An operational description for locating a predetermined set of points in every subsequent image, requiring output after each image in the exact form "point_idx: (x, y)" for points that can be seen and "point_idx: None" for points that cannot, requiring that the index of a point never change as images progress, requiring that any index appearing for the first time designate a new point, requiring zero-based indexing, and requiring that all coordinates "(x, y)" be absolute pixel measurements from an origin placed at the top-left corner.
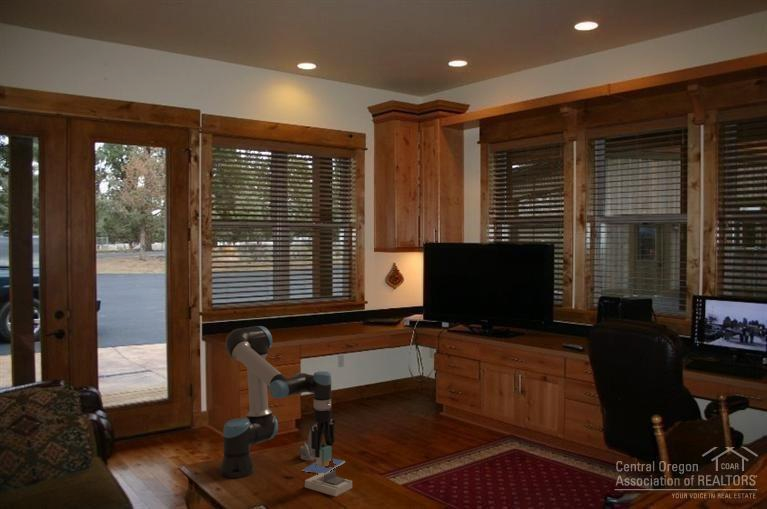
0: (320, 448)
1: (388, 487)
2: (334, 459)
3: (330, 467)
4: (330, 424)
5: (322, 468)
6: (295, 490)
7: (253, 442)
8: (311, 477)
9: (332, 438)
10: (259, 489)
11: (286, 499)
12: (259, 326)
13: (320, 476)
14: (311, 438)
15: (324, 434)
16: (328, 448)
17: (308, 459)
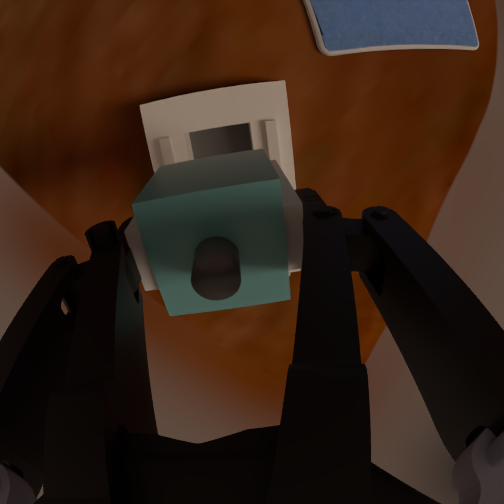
0: (157, 277)
1: (367, 322)
2: (464, 1)
3: (402, 28)
4: (458, 459)
5: (370, 3)
6: (97, 107)
7: None
8: (190, 95)
9: (375, 298)
10: (15, 19)
11: (32, 167)
12: None
13: (238, 118)
14: (1, 341)
15: (297, 314)
16: (240, 300)
17: None
